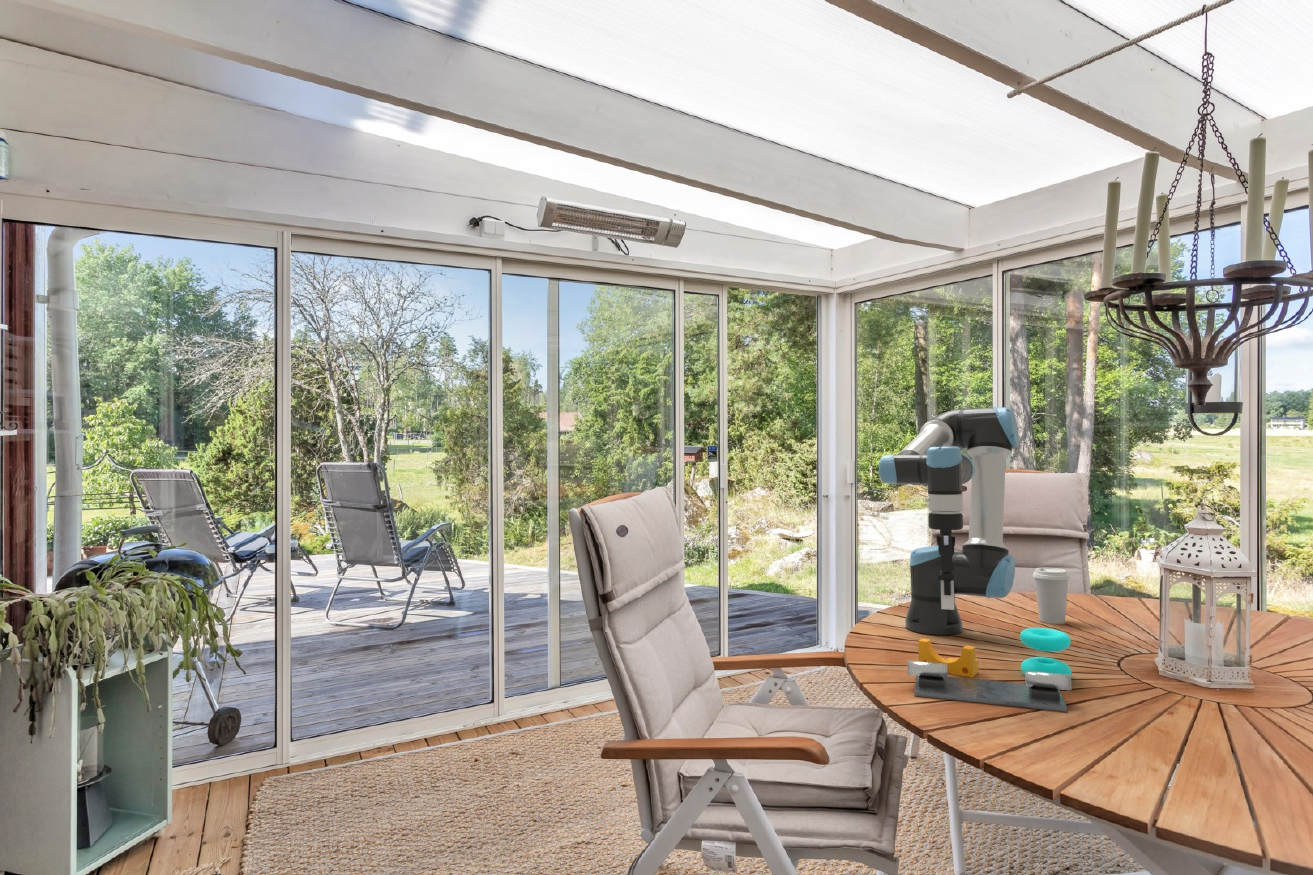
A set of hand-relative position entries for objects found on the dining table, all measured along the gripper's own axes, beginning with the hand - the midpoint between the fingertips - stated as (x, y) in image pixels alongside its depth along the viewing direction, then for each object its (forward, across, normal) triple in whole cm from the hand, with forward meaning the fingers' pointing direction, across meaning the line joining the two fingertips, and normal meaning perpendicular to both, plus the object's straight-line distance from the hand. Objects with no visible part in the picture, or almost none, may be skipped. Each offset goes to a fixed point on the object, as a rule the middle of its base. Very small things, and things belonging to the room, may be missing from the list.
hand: (947, 602), depth 164 cm
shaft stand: (+16, +15, +7) cm, 23 cm away
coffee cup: (+15, -55, +28) cm, 64 cm away
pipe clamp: (+16, 0, 0) cm, 16 cm away
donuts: (+16, -1, +20) cm, 26 cm away
